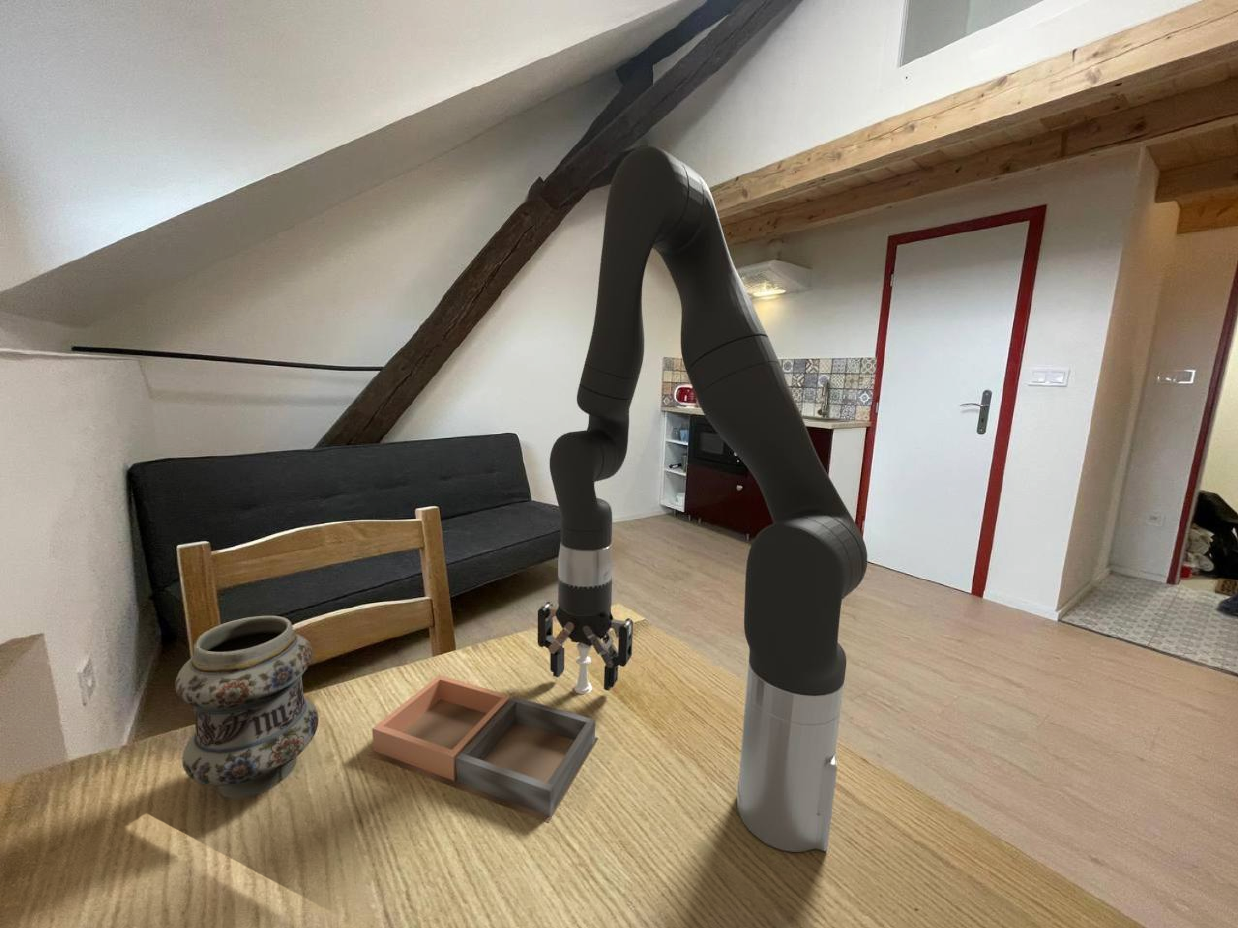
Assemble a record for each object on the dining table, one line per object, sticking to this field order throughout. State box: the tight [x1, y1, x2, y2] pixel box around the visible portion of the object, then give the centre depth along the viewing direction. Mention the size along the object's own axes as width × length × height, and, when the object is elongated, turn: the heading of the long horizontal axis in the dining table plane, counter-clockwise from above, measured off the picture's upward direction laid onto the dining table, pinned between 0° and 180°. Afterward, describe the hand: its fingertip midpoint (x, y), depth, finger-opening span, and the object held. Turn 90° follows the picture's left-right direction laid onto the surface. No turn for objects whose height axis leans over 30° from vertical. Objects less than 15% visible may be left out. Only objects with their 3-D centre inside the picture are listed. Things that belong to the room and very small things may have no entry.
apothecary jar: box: [174, 615, 320, 800], centre depth 55 cm, size 12×12×18 cm
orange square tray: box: [371, 674, 512, 781], centre depth 63 cm, size 12×12×3 cm
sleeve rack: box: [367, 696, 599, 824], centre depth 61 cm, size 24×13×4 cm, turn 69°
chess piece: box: [573, 642, 593, 695], centre depth 72 cm, size 5×5×10 cm
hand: (583, 680), depth 73 cm, fingers open, 7 cm apart
